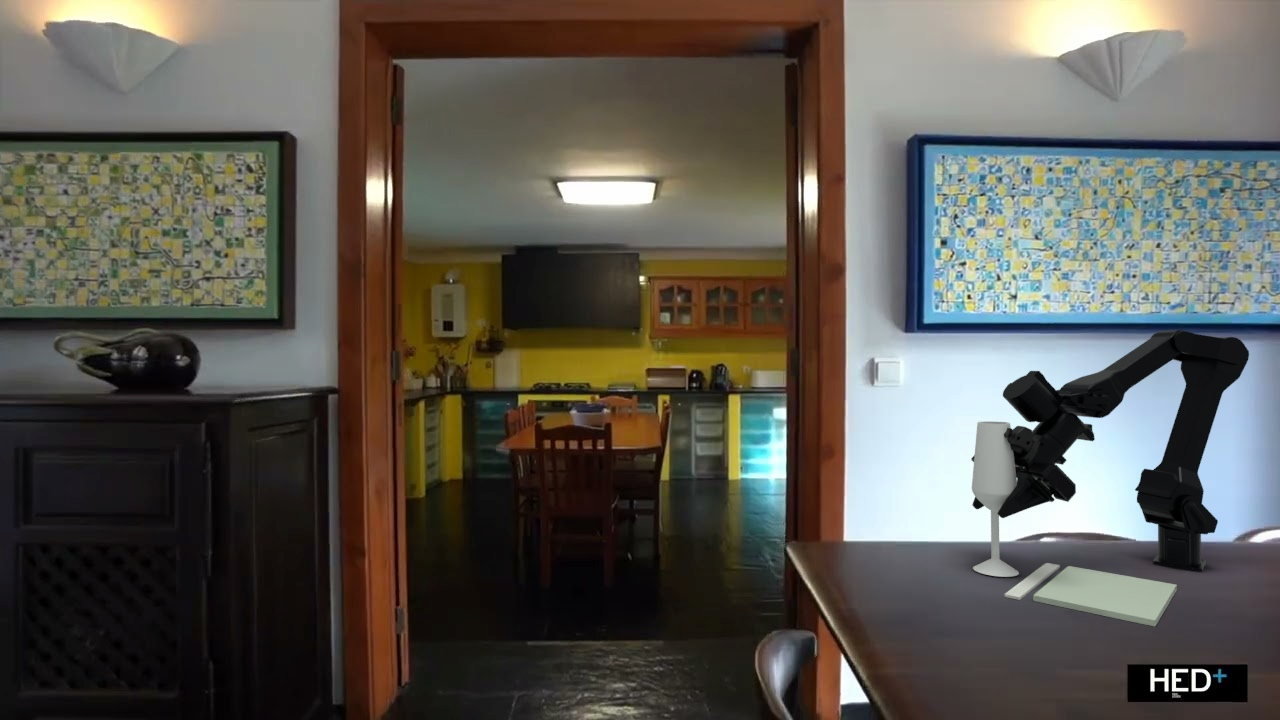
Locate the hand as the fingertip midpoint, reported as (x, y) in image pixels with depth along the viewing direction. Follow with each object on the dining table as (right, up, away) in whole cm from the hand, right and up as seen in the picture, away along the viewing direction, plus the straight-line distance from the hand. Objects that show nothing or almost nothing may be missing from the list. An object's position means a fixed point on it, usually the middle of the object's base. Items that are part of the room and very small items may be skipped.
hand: (986, 511), depth 112 cm
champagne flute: (+1, -10, 0) cm, 10 cm away
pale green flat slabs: (+10, -10, -10) cm, 18 cm away
